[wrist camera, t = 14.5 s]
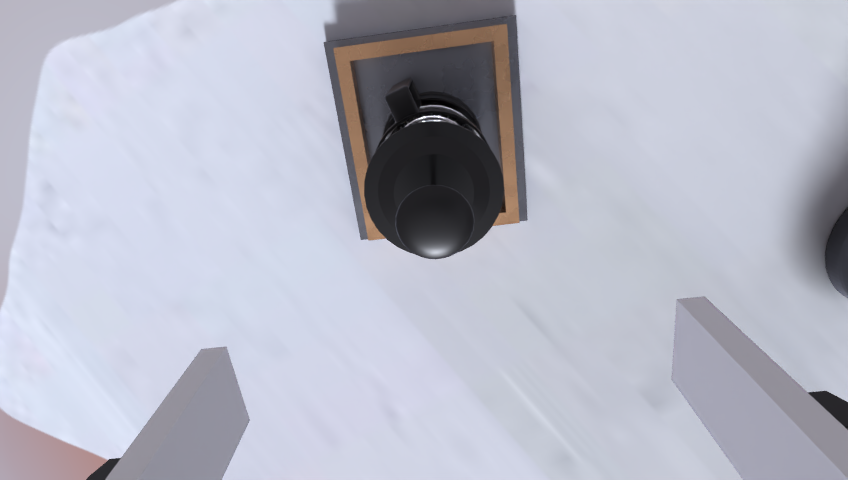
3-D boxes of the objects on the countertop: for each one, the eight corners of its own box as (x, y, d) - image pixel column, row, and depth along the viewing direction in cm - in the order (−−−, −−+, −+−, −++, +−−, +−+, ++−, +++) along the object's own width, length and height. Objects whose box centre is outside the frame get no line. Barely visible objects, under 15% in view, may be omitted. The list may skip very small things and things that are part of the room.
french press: (499, 172, 49) (553, 276, 27) (411, 210, 50) (398, 337, 29) (450, 55, 45) (470, 69, 24) (357, 100, 46) (296, 152, 25)
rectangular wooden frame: (513, 15, 45) (519, 14, 42) (525, 216, 52) (531, 227, 49) (326, 42, 46) (319, 42, 43) (362, 235, 53) (358, 247, 50)
